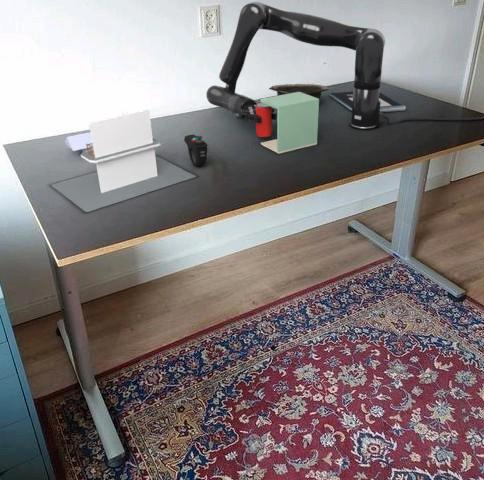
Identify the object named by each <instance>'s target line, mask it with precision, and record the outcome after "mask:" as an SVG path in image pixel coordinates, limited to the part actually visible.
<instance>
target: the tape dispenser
mask: <svg viewBox="0 0 484 480" xmlns="http://www.w3.org/2000/svg"><path fill="white" fill-rule="evenodd" d="M90 143H92V138H91V132H84V133H80V134H74V135H70V136H66V138H65V140H64V144H65V145H66V146H67V147H68V148H69V149H70V150H71V151H73V152H75V151H79V150H81V153H84V152H87V146H86V144H90ZM92 145H93V144H90V146H89V147H88V150H89V149H90V148H91V146H92ZM91 150H93V148H92V149H91Z"/></svg>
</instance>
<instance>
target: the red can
mask: <svg viewBox="0 0 484 480" xmlns="http://www.w3.org/2000/svg"><path fill="white" fill-rule="evenodd" d="M256 115H258V116H261V123H257V122H255V135H256V136H257V137H259V138H268V137H271V136H272V135H273V134H272V133H273V132H272V131H273V119H272V107H271V106H269V105H266V104H264V103H262V102H259V103H257V105H256Z"/></svg>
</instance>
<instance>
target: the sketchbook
mask: <svg viewBox="0 0 484 480" xmlns="http://www.w3.org/2000/svg"><path fill="white" fill-rule="evenodd" d="M353 91H354V90H352V91H351V90H350V91H340V92H339V91H338V92H337V91H336V92H329V97H331V98H332V99H333V100H335V101H336V102H338V103H339V104H340V105H342V106H343V107H345V108H346V109H348V110H349V111H351V112H352V104H353ZM379 101H380V102H381V103H380V111H381V112H382V113H389V112H390V113H391V112H402V111H403V112H404V111H405V110H407V106H406V105H404V104H402V103H400V102H398V101H397V100H396V99H393V98H392V97H390V96H389V95H387V94H385V93H383V92H382V91H380V93H379Z"/></svg>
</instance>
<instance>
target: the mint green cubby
mask: <svg viewBox="0 0 484 480" xmlns="http://www.w3.org/2000/svg"><path fill="white" fill-rule="evenodd" d="M259 103H264V104H266V105H269V106H271V107H273V108H274V109H276V111H277V113H276V114H277V118H276V121H277V126H276V127H277V128H276V129H277V130H276V131H277V132H276V133H277V134H276V135H277V136H276V137H277V138H276V139H272V140H266V141H264V142H260V145H261V146H262V147H265V148H267V149H269V150H271V151H272V152H274V153H276V154H277V155H279V154H283V153H287V152H292V151H295V150H299V149H303V148H308V147H312V146H316V145H318V131H319V108H320V102H319V99H318V98H315V97H313V96H310V95H307V94H304V93H302V92H294V93H288V94H283V95H278V96H277V95H272V96H268V97H261V98H259Z"/></svg>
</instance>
